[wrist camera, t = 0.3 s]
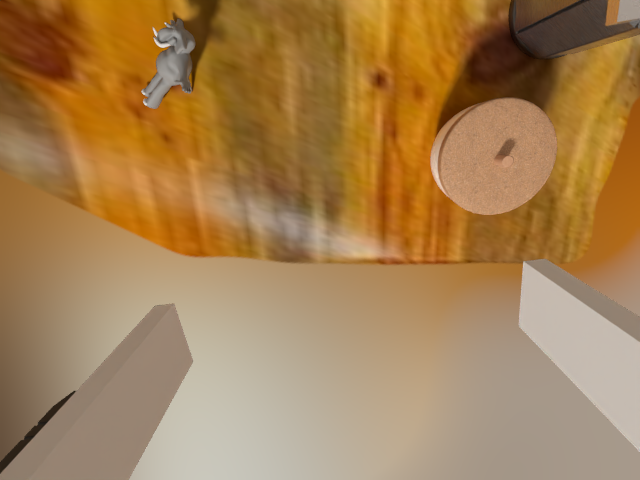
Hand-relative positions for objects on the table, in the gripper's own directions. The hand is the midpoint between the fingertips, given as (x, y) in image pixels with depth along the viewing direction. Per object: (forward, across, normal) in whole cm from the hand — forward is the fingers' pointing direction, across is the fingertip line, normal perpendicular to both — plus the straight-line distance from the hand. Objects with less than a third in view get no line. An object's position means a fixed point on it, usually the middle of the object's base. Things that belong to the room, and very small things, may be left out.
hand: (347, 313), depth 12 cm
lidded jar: (+28, +16, +1) cm, 33 cm away
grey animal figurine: (+29, -14, +14) cm, 35 cm away
